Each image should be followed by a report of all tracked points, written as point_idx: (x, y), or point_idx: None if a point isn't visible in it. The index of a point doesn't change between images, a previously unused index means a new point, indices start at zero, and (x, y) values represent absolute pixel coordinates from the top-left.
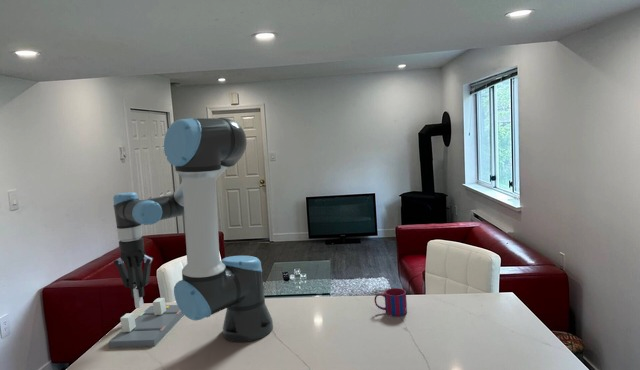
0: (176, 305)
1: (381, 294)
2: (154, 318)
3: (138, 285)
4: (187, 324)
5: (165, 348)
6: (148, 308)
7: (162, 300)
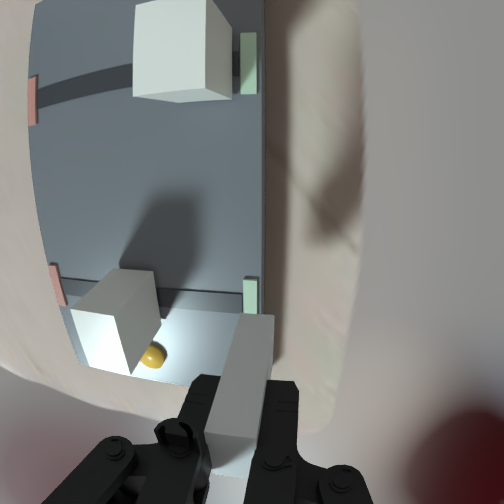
0: None
1: None
2: (132, 229)
3: (175, 464)
4: (18, 206)
5: (19, 12)
6: None
7: (82, 336)
